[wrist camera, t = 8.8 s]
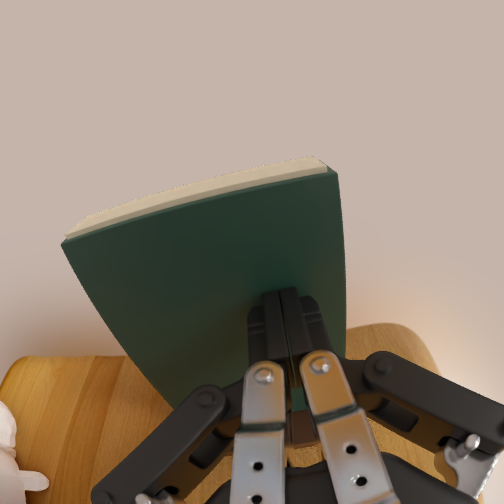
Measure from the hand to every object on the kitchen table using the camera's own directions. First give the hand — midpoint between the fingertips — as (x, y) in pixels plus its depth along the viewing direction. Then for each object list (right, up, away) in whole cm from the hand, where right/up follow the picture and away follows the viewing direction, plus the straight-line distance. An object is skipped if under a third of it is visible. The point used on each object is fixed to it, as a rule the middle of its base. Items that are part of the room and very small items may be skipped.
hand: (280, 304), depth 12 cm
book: (-1, -9, +7) cm, 11 cm away
